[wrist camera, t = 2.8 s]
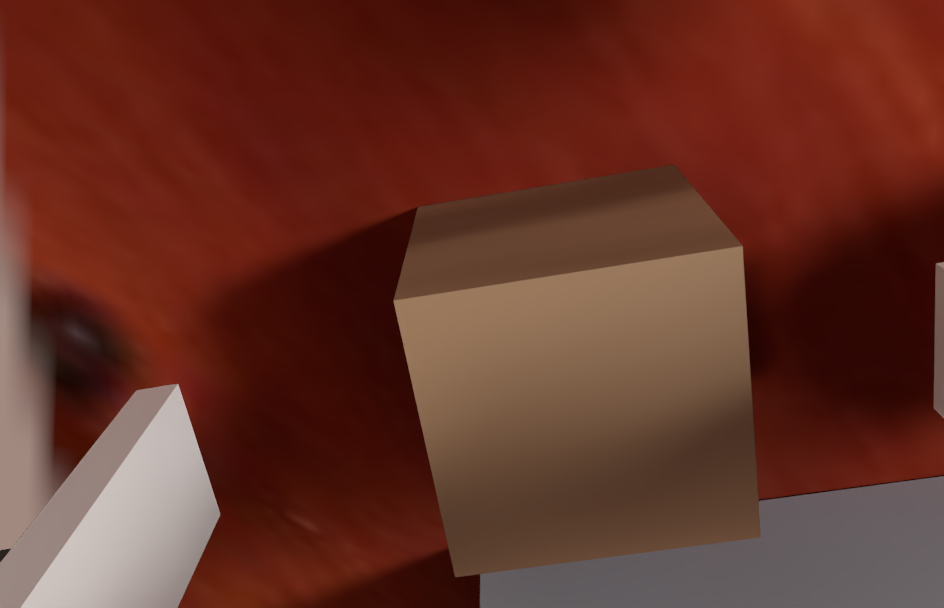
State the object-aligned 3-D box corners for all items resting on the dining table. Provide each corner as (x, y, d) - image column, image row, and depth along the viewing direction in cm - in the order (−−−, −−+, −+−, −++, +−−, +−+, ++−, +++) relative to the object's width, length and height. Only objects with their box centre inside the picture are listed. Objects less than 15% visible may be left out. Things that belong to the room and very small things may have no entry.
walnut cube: (418, 205, 17) (393, 300, 13) (673, 163, 17) (742, 246, 12) (462, 424, 19) (455, 576, 15) (693, 391, 19) (761, 537, 14)
